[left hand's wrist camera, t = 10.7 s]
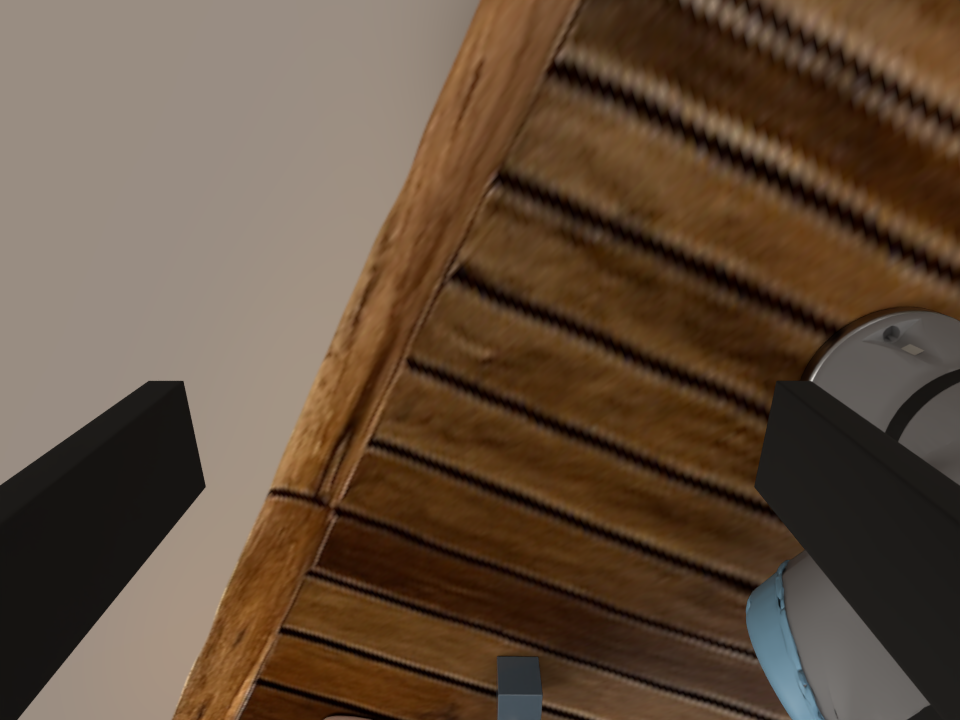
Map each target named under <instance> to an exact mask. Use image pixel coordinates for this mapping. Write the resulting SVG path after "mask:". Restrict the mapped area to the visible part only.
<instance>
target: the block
mask: <svg viewBox="0 0 960 720" xmlns="http://www.w3.org/2000/svg"><path fill="white" fill-rule="evenodd" d="M542 697H543V694H542V685H541V676H540V667H539V658H538V657H502V656H498V657H497V677H496V703H497V720H541V711H542Z"/></svg>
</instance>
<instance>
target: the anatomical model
mask: <svg viewBox="0 0 960 720" xmlns="http://www.w3.org/2000/svg"><path fill="white" fill-rule="evenodd" d="M324 720H371V719H366V718H360V717H352V716H330V717H327V718H325V719H324Z"/></svg>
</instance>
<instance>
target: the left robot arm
mask: <svg viewBox="0 0 960 720" xmlns="http://www.w3.org/2000/svg"><path fill="white" fill-rule="evenodd" d="M205 487H206V486H205V481H204V476H203V472H202V467H201V462H200V457H199V453H198V448H197V443H196V439H195V434H194V429H193V424H192V419H191V415H190V410H189V405H188V401H187V396H186V391H185V386H184V382H183V381H148V382H147V383H145V384H144V385H142V386H141V387H139V388H138V389H137V390H135V391H134V392H132V393H131V394H130V395H128V396H127V397H125V398H124V399H122V400H121V401H120V402H118V403H117V404H115V405H114V406H112V407H111V408H110V409H108V410H107V411H105V412H104V413H103V414H101V415H100V416H98V417H97V418H95V419H94V420H93V421H91V422H90V423H88V424H87V425H85V426H84V427H83V428H81V429H80V430H78V431H77V432H75V433H74V434H73V435H71V436H70V437H68V438H67V439H66V440H64V441H63V442H61V443H60V444H58V445H57V446H56V447H54V448H53V449H51V450H50V451H48V452H47V453H46V454H44V455H43V456H41V457H40V458H39V459H37V460H36V461H34V462H33V463H31V464H30V465H29V466H27V467H26V468H24V469H23V470H22V471H20V472H19V473H17V474H16V475H14V476H13V477H11V478H10V479H9V480H7V481H6V482H4V483H3V484H2V485H0V720H17V719H18V718H19V717H20V716H21V714H22V713H23V712H24V711H25V710H26V708H27V707H28V706H29V705H30V703H31V702H32V701H33V700H34V698H35V697H36V696H37V695H38V694H39V692H40V691H41V690H42V689H43V687H44V686H45V685H46V684H47V682H48V681H49V680H50V679H51V677H52V676H53V675H54V674H55V673H56V671H57V670H58V669H59V668H60V666H61V665H62V664H63V663H64V661H65V660H66V659H67V658H68V656H69V655H70V654H71V653H72V652H73V650H74V649H75V648H76V647H77V645H78V644H79V643H80V642H81V640H82V639H83V638H84V637H85V635H86V634H87V633H88V632H89V630H90V629H91V628H92V627H93V626H94V624H95V623H96V622H97V621H98V619H99V618H100V617H101V616H102V614H103V613H104V612H105V611H106V609H107V608H108V607H109V606H110V605H111V603H112V602H113V601H114V600H115V598H116V597H117V596H118V595H119V593H120V592H121V591H122V590H123V588H124V587H125V586H126V585H127V584H128V582H129V581H130V580H131V579H132V577H133V576H134V575H135V574H136V572H137V571H138V570H139V569H140V567H141V566H142V565H143V564H144V563H145V561H146V560H147V559H148V558H149V556H150V555H151V554H152V553H153V551H154V550H155V549H156V548H157V546H158V545H159V544H160V543H161V542H162V540H163V539H164V538H165V537H166V535H167V534H168V533H169V532H170V530H171V529H172V528H173V527H174V525H175V524H176V523H177V522H178V520H179V519H180V518H181V517H182V516H183V514H184V513H185V512H186V511H187V509H188V508H189V507H190V506H191V504H192V503H193V502H194V501H195V500H196V498H197V497H198V496H199V495H200V493H201V492H202V491H203V490H204V488H205ZM754 487H755V488H756V490H757V491H758V492H759V493H760V495H761V496H762V497H763V498H764V500H765V501H766V502H767V503H768V504H769V506H770V507H771V508H772V509H773V511H774V512H775V513H776V514H777V516H778V517H779V518H780V519H781V521H782V522H783V523H784V524H785V525H786V527H787V528H788V529H789V530H790V532H791V533H792V534H793V535H794V537H795V538H796V539H797V540H798V542H799V543H800V544H801V545H802V546H803V548H804V549H805V550H804V551H803V552H801V553H800V554H798V555H797V556H796V557H794V558H793V559H791V560H786V561H784V562H783V563H782V564H781V565H780V566H779V568H778V571H777V572H776V573H775V574H773V575H772V576H771V577H770V578H768V579H767V580H766V581H765V582H764V583H762V584H761V585H760V586H759V587H757V588H756V589H755V590H754V591H753V592H752V593H751V595H750V597H749V599H748V601H747V607H746V623H747V628H748V632H749V636H750V639H751V642H752V645H753V648H754V650H755V653H756V655H757V657H758V660H759V662H760V664H761V666H762V668H763V670H764V672H765V674H766V676H767V678H768V680H769V682H770V684H771V686H772V687H773V689H774V691H775V693H776V694H777V696H778V698H779V700H780V701H781V703H782V705H783V706H784V708H785V709H786V711H787V712H788V714H789V715H790V717H791V718H792V720H960V321H958V320H956V319H954V318H952V317H949V316H946V315H943V314H941V313H938V312H935V311H932V310H928V309H924V308H917V307H898V308H891V309H885V310H881V311H878V312H875V313H872V314H869V315H866V316H864V317H862V318H859V319H857V320H856V321H854V322H852V323H850V324H848V325H847V326H845V327H844V328H842V329H841V330H839V331H838V332H837V333H835V334H834V335H833V336H832V337H831V338H829V339H828V340H827V341H826V342H825V343H824V344H823V345H822V346H821V347H820V349H819V350H818V351H817V352H816V353H815V355H814V356H813V357H812V359H811V360H810V362H809V363H808V365H807V367H806V369H805V371H804V373H803V375H802V377H801V380H800V381H777V382H776V386H775V391H774V396H773V401H772V405H771V410H770V415H769V419H768V424H767V429H766V434H765V438H764V443H763V448H762V453H761V457H760V462H759V467H758V472H757V476H756V481H755V486H754Z"/></svg>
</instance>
